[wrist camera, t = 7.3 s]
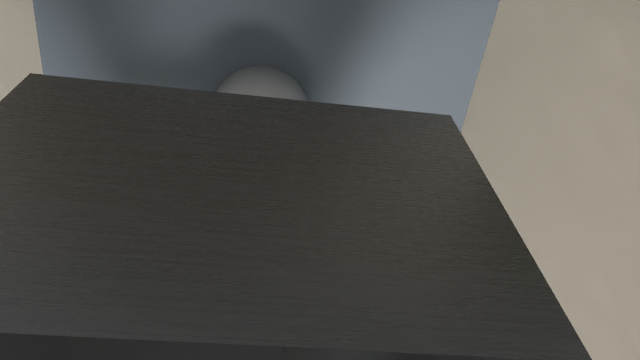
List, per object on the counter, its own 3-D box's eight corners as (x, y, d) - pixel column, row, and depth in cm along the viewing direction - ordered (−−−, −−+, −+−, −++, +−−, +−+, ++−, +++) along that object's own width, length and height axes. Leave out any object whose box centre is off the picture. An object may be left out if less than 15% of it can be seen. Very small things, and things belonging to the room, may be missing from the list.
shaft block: (488, -99, 16) (614, -56, 10) (402, 229, 22) (445, 384, 16) (58, -162, 15) (-115, -159, 8) (96, 205, 21) (12, 362, 15)
